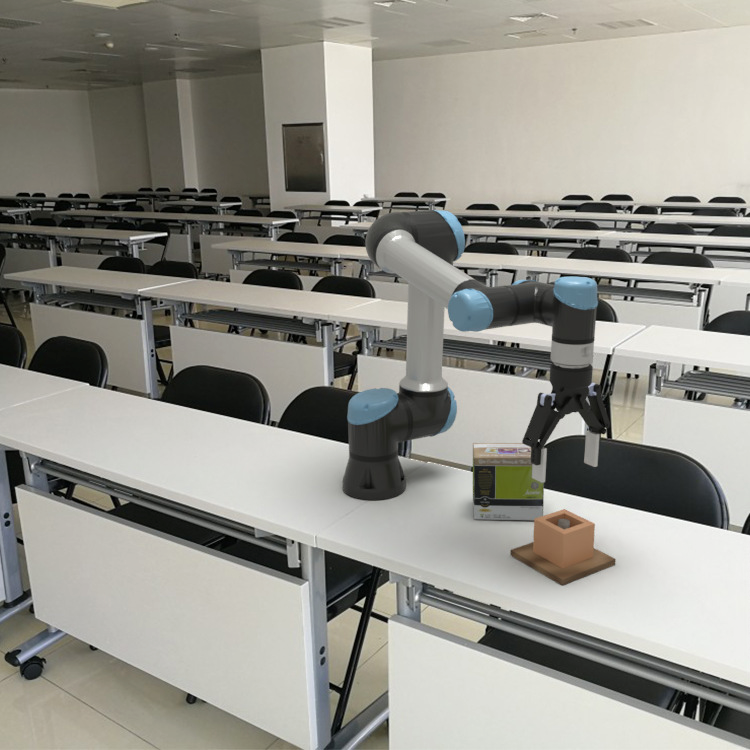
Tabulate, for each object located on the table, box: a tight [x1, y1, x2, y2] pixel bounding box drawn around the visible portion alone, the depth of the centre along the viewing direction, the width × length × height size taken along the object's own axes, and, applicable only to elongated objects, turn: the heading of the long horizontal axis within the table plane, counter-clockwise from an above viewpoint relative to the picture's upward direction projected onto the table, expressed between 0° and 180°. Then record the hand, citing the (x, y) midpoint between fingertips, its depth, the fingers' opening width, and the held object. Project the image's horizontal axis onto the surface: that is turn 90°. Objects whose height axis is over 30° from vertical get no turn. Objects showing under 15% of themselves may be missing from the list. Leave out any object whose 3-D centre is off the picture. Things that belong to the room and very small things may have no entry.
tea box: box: [472, 442, 545, 521], centre depth 175 cm, size 15×10×15 cm
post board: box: [510, 519, 616, 586], centre depth 154 cm, size 14×14×8 cm
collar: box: [532, 508, 596, 568], centre depth 154 cm, size 8×8×7 cm
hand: (565, 472), depth 150 cm, fingers open, 13 cm apart
